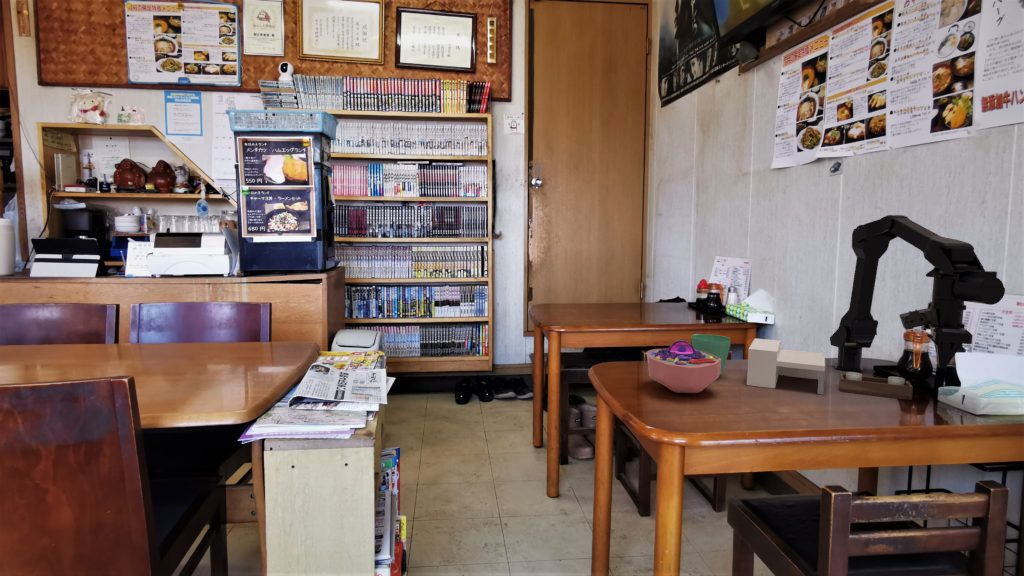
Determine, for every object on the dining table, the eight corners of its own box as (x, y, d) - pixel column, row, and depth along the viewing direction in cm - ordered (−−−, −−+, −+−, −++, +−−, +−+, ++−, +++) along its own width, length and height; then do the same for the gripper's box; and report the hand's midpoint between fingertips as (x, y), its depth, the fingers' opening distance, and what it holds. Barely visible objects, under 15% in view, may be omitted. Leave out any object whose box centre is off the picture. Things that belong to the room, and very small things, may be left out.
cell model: (641, 398, 126) (643, 348, 125) (647, 377, 145) (649, 333, 144) (722, 406, 121) (724, 354, 120) (717, 383, 140) (719, 338, 139)
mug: (736, 379, 143) (738, 341, 142) (700, 380, 142) (702, 341, 141) (709, 366, 157) (710, 331, 156) (675, 367, 156) (677, 331, 155)
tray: (839, 385, 139) (840, 369, 138) (907, 393, 132) (909, 376, 132) (839, 391, 133) (841, 374, 133) (911, 400, 127) (913, 382, 126)
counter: (753, 371, 152) (754, 338, 151) (822, 379, 145) (824, 344, 144) (746, 384, 138) (748, 348, 137) (823, 394, 130) (825, 356, 130)
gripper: (898, 293, 137) (893, 356, 138) (910, 300, 120) (904, 372, 122) (956, 295, 131) (950, 361, 133) (976, 304, 115) (969, 379, 116)
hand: (941, 368), depth 126 cm, fingers closed
